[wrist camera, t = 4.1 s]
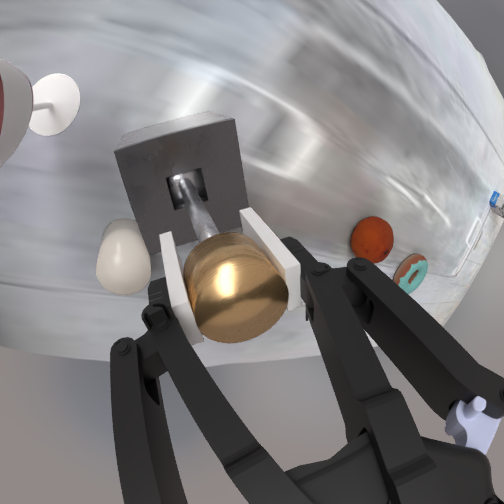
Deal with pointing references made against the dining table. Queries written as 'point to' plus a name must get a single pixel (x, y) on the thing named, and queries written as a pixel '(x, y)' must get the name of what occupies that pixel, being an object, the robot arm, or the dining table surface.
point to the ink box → (497, 204)
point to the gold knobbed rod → (226, 273)
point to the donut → (411, 272)
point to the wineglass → (33, 106)
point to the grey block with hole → (179, 161)
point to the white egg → (123, 258)
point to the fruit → (372, 239)
